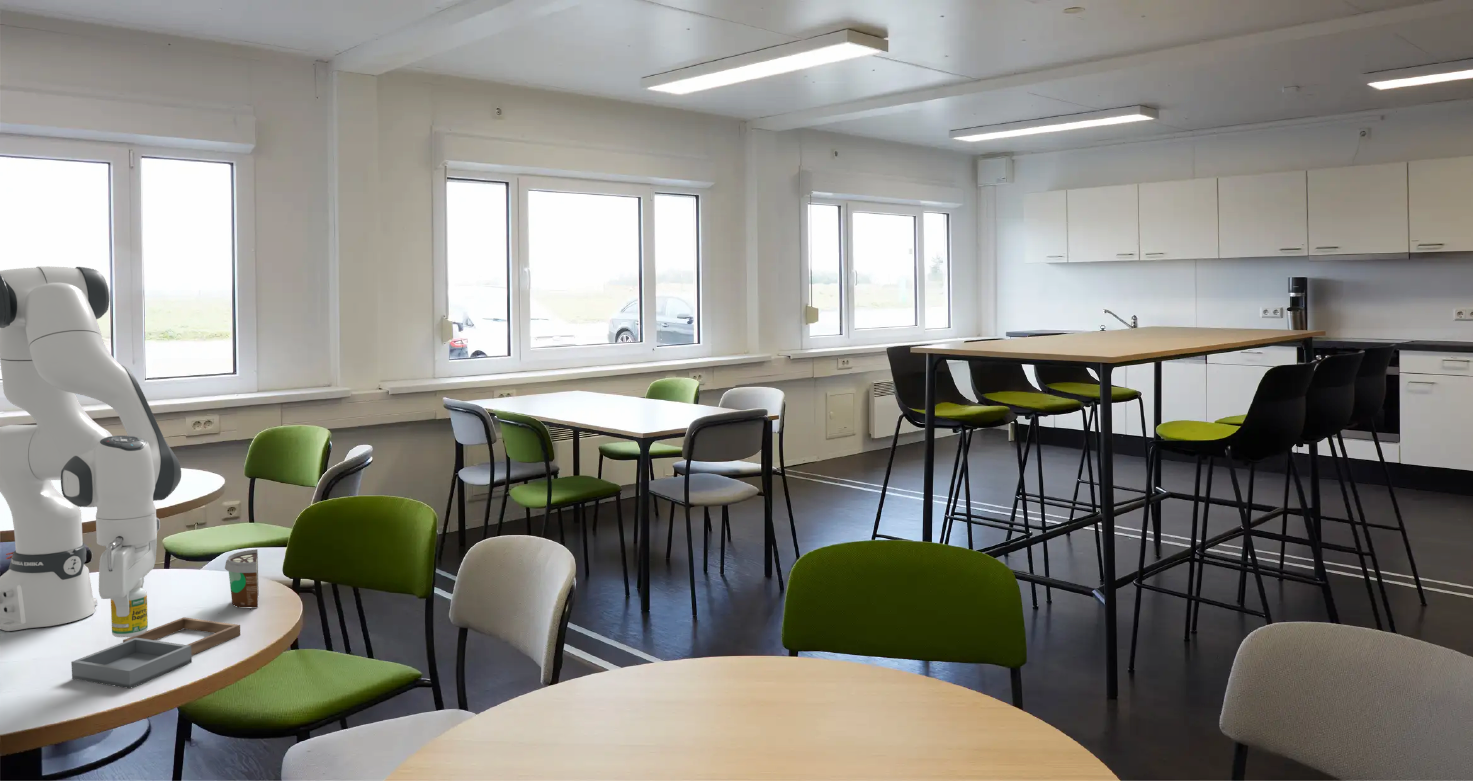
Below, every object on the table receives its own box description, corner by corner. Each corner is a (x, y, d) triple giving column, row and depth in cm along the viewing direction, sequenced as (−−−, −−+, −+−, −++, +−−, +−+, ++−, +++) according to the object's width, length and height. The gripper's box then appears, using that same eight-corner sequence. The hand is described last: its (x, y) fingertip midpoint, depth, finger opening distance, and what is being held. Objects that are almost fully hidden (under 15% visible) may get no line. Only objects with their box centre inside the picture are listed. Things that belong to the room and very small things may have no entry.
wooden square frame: (123, 650, 180) (122, 640, 180) (184, 627, 193) (183, 617, 193) (182, 659, 176) (182, 648, 176) (240, 635, 189) (240, 625, 189)
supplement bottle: (126, 627, 173) (124, 574, 172) (155, 629, 172) (153, 575, 172) (104, 637, 167) (102, 582, 167) (134, 638, 167) (132, 583, 166)
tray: (72, 678, 167) (71, 661, 166) (136, 653, 179) (135, 637, 179) (130, 688, 163) (129, 671, 163) (191, 662, 175) (191, 645, 175)
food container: (227, 596, 213) (225, 551, 212) (258, 593, 216) (257, 548, 215) (224, 613, 202) (222, 565, 201) (257, 609, 205) (256, 562, 204)
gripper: (130, 544, 160) (133, 626, 161) (162, 517, 179) (164, 591, 180) (85, 546, 158) (88, 630, 159) (123, 519, 177) (125, 594, 178)
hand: (129, 609), depth 170 cm, fingers closed on supplement bottle, 5 cm apart
